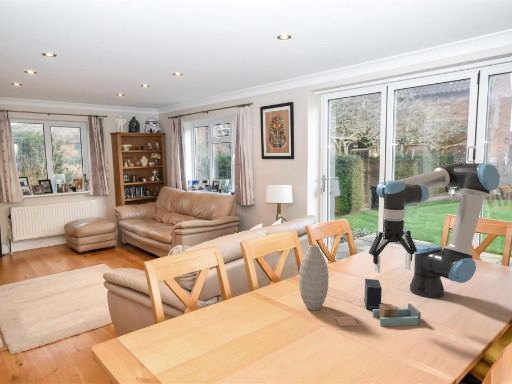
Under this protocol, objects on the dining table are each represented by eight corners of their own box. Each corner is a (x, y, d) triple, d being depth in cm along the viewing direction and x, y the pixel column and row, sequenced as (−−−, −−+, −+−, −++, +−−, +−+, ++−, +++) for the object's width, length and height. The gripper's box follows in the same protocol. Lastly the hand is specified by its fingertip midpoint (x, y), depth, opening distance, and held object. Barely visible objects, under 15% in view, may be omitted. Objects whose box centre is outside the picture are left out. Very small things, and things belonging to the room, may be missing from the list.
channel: (409, 315, 148) (410, 303, 148) (420, 324, 140) (420, 312, 139) (372, 316, 148) (372, 304, 147) (380, 326, 139) (381, 314, 139)
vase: (331, 304, 160) (331, 243, 157) (324, 316, 148) (324, 250, 145) (303, 299, 165) (304, 240, 162) (295, 310, 154) (295, 247, 151)
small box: (381, 311, 152) (382, 287, 151) (366, 310, 154) (366, 286, 153) (378, 301, 163) (379, 279, 162) (363, 300, 164) (364, 278, 163)
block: (390, 317, 146) (391, 304, 146) (396, 323, 141) (396, 309, 141) (378, 318, 146) (379, 304, 145) (383, 324, 141) (384, 309, 140)
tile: (351, 317, 147) (351, 316, 146) (357, 326, 140) (357, 324, 140) (335, 318, 146) (335, 316, 146) (340, 326, 139) (340, 325, 139)
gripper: (415, 216, 148) (414, 265, 151) (360, 219, 144) (359, 269, 146) (427, 219, 141) (425, 270, 143) (370, 222, 136) (369, 275, 139)
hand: (392, 270), depth 145 cm, fingers open, 13 cm apart
